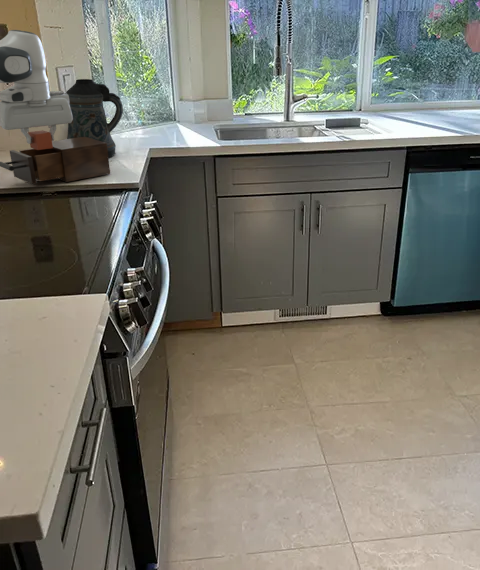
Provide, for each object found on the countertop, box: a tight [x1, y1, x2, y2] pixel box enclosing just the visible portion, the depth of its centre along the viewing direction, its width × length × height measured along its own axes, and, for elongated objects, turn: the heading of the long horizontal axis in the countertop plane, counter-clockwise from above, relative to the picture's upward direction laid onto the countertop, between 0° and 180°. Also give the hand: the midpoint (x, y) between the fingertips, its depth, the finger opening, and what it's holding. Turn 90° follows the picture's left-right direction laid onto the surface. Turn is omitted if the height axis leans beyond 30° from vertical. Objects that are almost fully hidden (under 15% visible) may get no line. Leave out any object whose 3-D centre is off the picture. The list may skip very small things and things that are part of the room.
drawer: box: [0, 148, 64, 185], centre depth 173 cm, size 18×11×8 cm, turn 139°
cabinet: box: [51, 137, 111, 183], centre depth 182 cm, size 15×13×10 cm
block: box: [27, 129, 53, 150], centre depth 172 cm, size 4×4×4 cm
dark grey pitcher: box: [65, 78, 124, 159], centre depth 202 cm, size 16×19×25 cm
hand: (40, 142), depth 172 cm, fingers closed on block, 4 cm apart
